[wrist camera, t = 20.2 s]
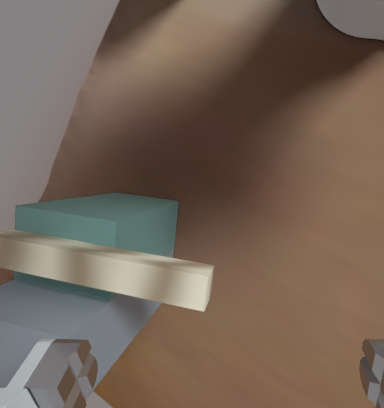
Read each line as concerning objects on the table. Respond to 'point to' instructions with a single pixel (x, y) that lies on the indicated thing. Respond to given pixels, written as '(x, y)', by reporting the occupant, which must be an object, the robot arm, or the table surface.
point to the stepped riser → (77, 294)
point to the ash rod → (108, 268)
